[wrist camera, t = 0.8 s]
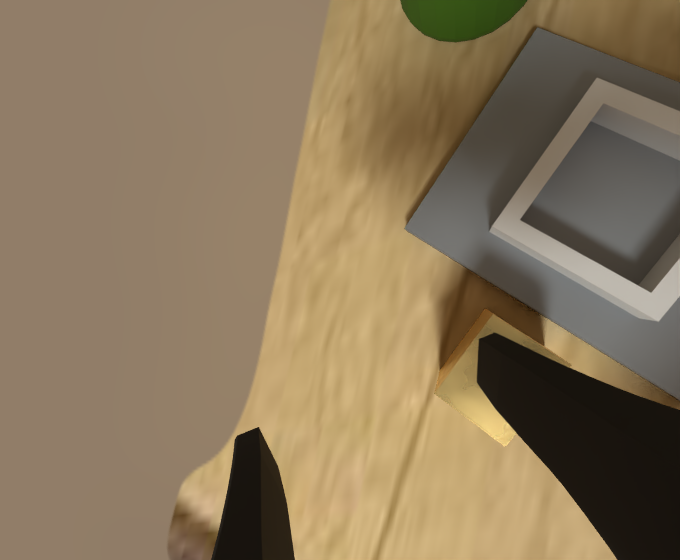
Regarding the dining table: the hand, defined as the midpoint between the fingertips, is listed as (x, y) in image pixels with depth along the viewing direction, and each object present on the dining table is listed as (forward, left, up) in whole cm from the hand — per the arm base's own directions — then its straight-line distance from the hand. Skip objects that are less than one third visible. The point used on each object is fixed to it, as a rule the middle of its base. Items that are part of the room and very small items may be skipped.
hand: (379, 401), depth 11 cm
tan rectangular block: (-4, -2, -14) cm, 14 cm away
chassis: (-4, -13, -14) cm, 19 cm away
